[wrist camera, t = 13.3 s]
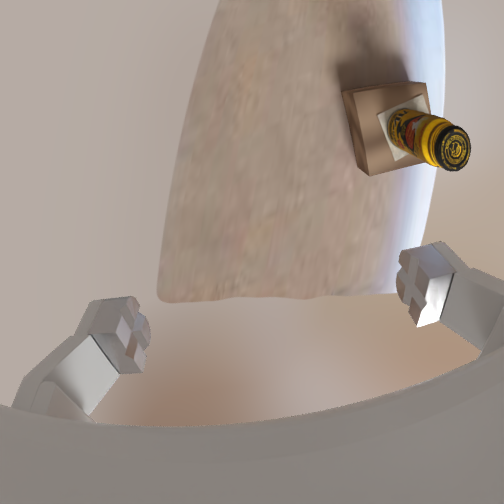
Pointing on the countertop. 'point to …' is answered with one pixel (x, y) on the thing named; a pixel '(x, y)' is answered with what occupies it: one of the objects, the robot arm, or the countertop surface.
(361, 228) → the countertop surface
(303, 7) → the countertop surface
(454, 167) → the condiment
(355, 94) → the walnut block
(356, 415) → the robot arm
